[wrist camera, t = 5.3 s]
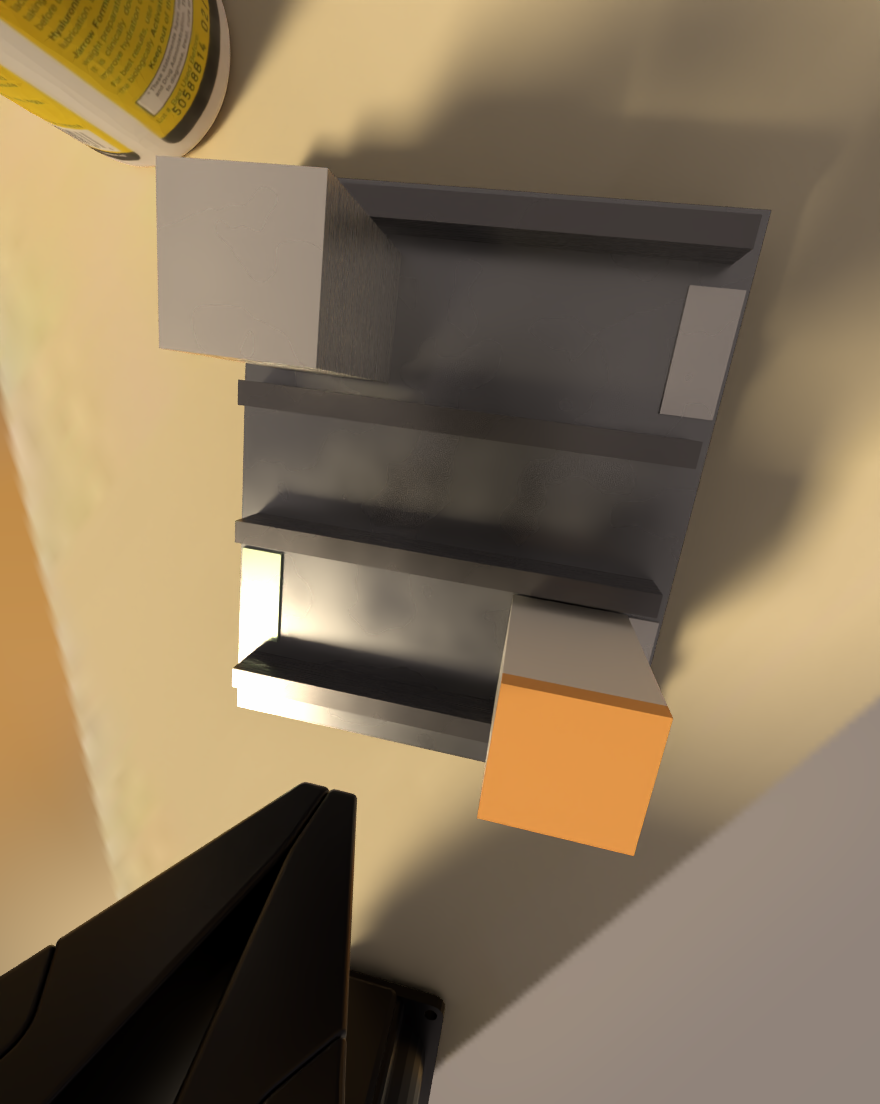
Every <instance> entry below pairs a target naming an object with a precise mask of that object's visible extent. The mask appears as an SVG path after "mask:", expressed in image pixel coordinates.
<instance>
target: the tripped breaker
mask: <svg viewBox="0 0 880 1104" xmlns="http://www.w3.org/2000/svg"><path fill="white" fill-rule="evenodd" d="M672 720H673V717H672V715H671V713H670V710H669V708H668V706H667V704H666V701H665V699H664V697H663V695H662V692H661V690H660V688H659V685H658V683H657V681H656V679H655V676H654V674H653V672H652V670H651V667H650V665H649V663H648V661H647V658H646V656H645V654H644V652H643V649H642V647H641V645H640V643H639V640H638V638H637V636H636V633H635V631H634V629H633V627H632V624H631V622H630V620H629V618H628V615H624V614H618V613H613V612H607V611H602V610H596V609H591V608H585V607H580V606H574V605H568V604H563V603H557V602H552V601H546V600H541V599H535V598H530V597H524V596H519V595H513V599H512V605H511V611H510V616H509V622H508V628H507V633H506V639H505V645H504V650H503V656H502V662H501V667H500V673H499V679H498V684H497V690H496V696H495V703H494V709H493V716H492V723H491V729H490V736H489V743H488V749H487V756H486V763H485V769H484V776H483V782H482V789H481V796H480V802H479V809H478V816H477V818H479V819H483V820H487V821H491V822H495V823H499V824H503V825H508V826H512V827H516V828H520V829H524V830H528V831H532V832H536V833H541V834H545V835H549V836H553V837H557V838H561V839H565V840H570V841H574V842H578V843H582V844H586V845H590V846H594V847H599V848H603V849H607V850H611V851H615V852H619V853H623V854H627V855H632V856H634V853H635V850H636V846H637V843H638V839H639V836H640V832H641V829H642V825H643V822H644V818H645V815H646V811H647V808H648V804H649V801H650V797H651V794H652V790H653V787H654V783H655V780H656V776H657V773H658V769H659V766H660V762H661V759H662V755H663V752H664V748H665V745H666V741H667V738H668V734H669V731H670V727H671V724H672Z"/></svg>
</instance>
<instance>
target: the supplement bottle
mask: <svg viewBox="0 0 880 1104" xmlns="http://www.w3.org/2000/svg"><path fill="white" fill-rule="evenodd" d="M229 70H230V36H229V28H228V22H227V18H226V13H225V10H224V6H223V3H222V0H0V94H1V95H3V96H5V97H6V98H8V99H10V100H11V101H13V102H15V103H16V104H18V105H20V106H21V107H23V108H24V109H26V110H28V111H29V112H31V113H33V114H35V115H37V116H38V117H40V118H42V119H43V120H45V121H47V122H48V123H50V124H52V125H53V126H55V127H57V128H58V129H60V130H62V131H63V132H65V133H67V134H68V135H70V136H72V137H73V138H75V139H77V140H78V141H80V142H82V143H84V144H85V145H87V146H89V147H90V148H92V149H94V150H95V151H97V152H99V153H101V154H103V155H105V156H107V157H109V158H111V159H113V160H116V161H118V162H121V163H124V164H127V165H132V166H139V167H154V166H156V155H157V156H170V157H182V156H183V155H185V154H186V153H188V152H189V151H190V150H191V149H192V148H194V147H195V146H196V145H197V144H198V143H199V142H200V141H201V139H202V138H203V137H204V136H205V134H206V133H207V132H208V130H209V129H210V127H211V126H212V124H213V123H214V121H215V119H216V117H217V115H218V113H219V111H220V108H221V106H222V103H223V100H224V97H225V94H226V89H227V84H228V78H229Z"/></svg>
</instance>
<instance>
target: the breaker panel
mask: <svg viewBox="0 0 880 1104" xmlns="http://www.w3.org/2000/svg"><path fill="white" fill-rule="evenodd" d="M156 206H157V258H158V310H159V348H161V349H167V350H173V351H179V352H184V353H190V354H196V355H202V356H208V357H214V358H219V359H225V360H231V361H237V362H243V363H246V370H245V380H238V405H244V406H245V412H244V455H243V497H242V519H239V520H236V521H235V542H236V543H241V582H240V624H239V663H238V664H237V665H236V666H235V667H234V668H232V687H236V688H238V706H239V707H243V708H248V709H252V710H257V711H261V712H266V713H270V714H274V715H279V716H283V717H288V718H292V719H296V720H301V721H305V722H310V723H314V724H319V725H323V726H327V727H332V728H336V729H341V730H345V731H349V732H354V733H358V734H363V735H367V736H371V737H376V738H380V739H385V740H389V741H394V742H398V743H402V744H407V745H411V746H416V747H420V748H424V749H429V750H433V751H438V752H442V753H447V754H451V755H455V756H460V757H464V758H469V759H473V760H477V761H482V762H486V756H487V749H488V743H489V736H490V729H491V723H492V716H493V709H494V703H495V696H496V690H497V684H498V679H499V673H500V667H501V662H502V656H503V650H504V645H505V639H506V633H507V628H508V622H509V616H510V611H511V605H512V599H513V595H519V596H524V597H530V598H535V599H541V600H546V601H552V602H557V603H563V604H568V605H574V606H580V607H585V608H591V609H596V610H602V611H607V612H613V613H618V614H624V615H628V618H629V620H630V622H631V624H632V627H633V629H634V631H635V633H636V636H637V638H638V640H639V643H640V645H641V647H642V649H643V652H644V654H645V656H646V658H647V661H648V663H649V665H650V667H651V663H652V659H653V656H654V652H655V648H656V644H657V640H658V637H659V633H660V629H661V625H662V622H663V618H664V614H665V610H666V606H667V603H668V599H669V595H670V591H671V588H672V584H673V580H674V576H675V572H676V569H677V565H678V561H679V557H680V553H681V550H682V546H683V542H684V538H685V535H686V531H687V527H688V523H689V519H690V516H691V512H692V508H693V504H694V501H695V497H696V493H697V489H698V485H699V482H700V478H701V474H702V470H703V466H704V463H705V459H706V455H707V451H708V448H709V444H710V440H711V436H712V432H713V429H714V425H715V421H716V417H717V414H718V410H719V406H720V402H721V398H722V395H723V391H724V387H725V383H726V380H727V376H728V372H729V368H730V364H731V361H732V357H733V353H734V349H735V345H736V342H737V338H738V334H739V330H740V327H741V323H742V319H743V315H744V311H745V308H746V304H747V300H748V296H749V293H750V289H751V285H752V281H753V277H754V274H755V270H756V266H757V262H758V258H759V255H760V251H761V247H762V243H763V240H764V236H765V232H766V228H767V224H768V221H769V217H770V213H771V210H761V209H748V208H735V207H721V206H708V205H695V204H681V203H668V202H655V201H641V200H628V199H615V198H601V197H588V196H575V195H561V194H548V193H535V192H521V191H508V190H495V189H481V188H468V187H455V186H441V185H428V184H415V183H401V182H388V181H375V180H361V179H348V178H336V177H335V176H334V175H333V173H332V172H331V171H330V170H329V169H328V168H322V167H308V166H295V165H281V164H267V163H253V162H239V161H226V160H212V159H198V158H184V157H170V156H157V155H156Z"/></svg>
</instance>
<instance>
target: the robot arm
mask: <svg viewBox="0 0 880 1104" xmlns="http://www.w3.org/2000/svg"><path fill="white" fill-rule="evenodd" d="M356 809H357V798H356V796H355V795H354V794H351V793H347V792H343V791H339V790H335V789H333V790H331V791H329V790H328V788H326V787H324V786H320V785H316V784H312V783H308V782H304V783H301V784H299V785H297V786H296V787H294V788H293V789H291V790H290V791H288V792H286V793H285V794H283V795H282V796H280V797H279V798H277V799H276V800H274V801H272V802H271V803H269V804H268V805H266V806H265V807H263V808H262V809H260V810H259V811H257V812H255V813H254V814H252V815H251V816H249V817H248V818H246V819H245V820H243V821H241V822H240V823H238V824H237V825H235V826H234V827H232V828H231V829H229V830H228V831H226V832H224V833H223V834H221V835H220V836H218V837H217V838H215V839H214V840H212V841H210V842H209V843H207V844H206V845H204V846H203V847H201V848H200V849H198V850H197V851H195V852H193V853H192V854H190V855H189V856H187V857H186V858H184V859H183V860H181V861H179V862H178V863H176V864H175V865H173V866H172V867H170V868H169V869H167V870H165V871H164V872H162V873H161V874H159V875H158V876H156V877H155V878H153V879H152V880H150V881H148V882H147V883H145V884H144V885H142V886H141V887H139V888H138V889H136V890H134V891H133V892H131V893H130V894H128V895H127V896H125V897H124V898H122V899H121V900H119V901H117V902H116V903H114V904H113V905H111V906H110V907H108V908H107V909H105V910H103V911H102V912H100V913H99V914H98V915H96V916H94V917H93V918H91V919H90V920H88V921H86V922H85V923H83V924H82V925H80V926H79V927H77V928H76V929H74V930H72V931H71V932H69V933H68V934H66V935H65V936H63V937H62V938H60V939H59V940H58V941H57V943H56V946H54V945H49V946H47V947H46V948H44V949H43V950H41V951H39V952H38V953H36V954H35V955H33V956H32V957H30V958H29V959H27V960H26V961H24V962H22V963H21V964H19V965H18V966H16V967H15V968H13V969H11V970H10V971H8V972H7V973H5V974H3V975H2V976H0V1104H428V1101H429V1095H430V1089H431V1084H432V1079H433V1073H434V1068H435V1062H436V1057H437V1051H438V1046H439V1040H440V1035H441V1029H442V1023H443V1018H444V1011H445V1003H444V1002H443V1000H442V999H441V998H440V997H438V996H436V995H433V994H430V993H426V992H423V991H420V990H416V989H413V988H409V987H406V986H402V985H399V984H396V983H392V982H389V981H385V980H382V979H378V978H375V977H372V976H368V975H365V974H361V973H358V972H354V971H351V970H350V947H351V924H352V901H353V878H354V855H355V832H356Z"/></svg>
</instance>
